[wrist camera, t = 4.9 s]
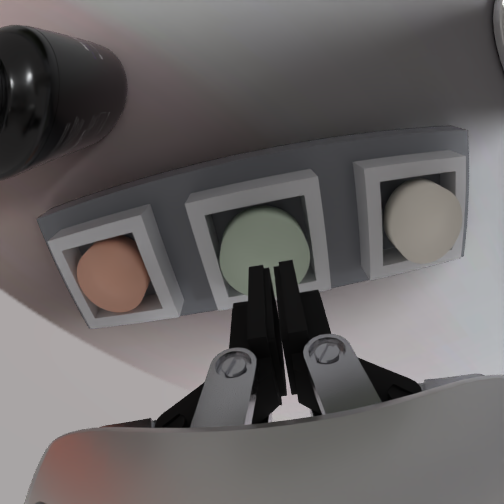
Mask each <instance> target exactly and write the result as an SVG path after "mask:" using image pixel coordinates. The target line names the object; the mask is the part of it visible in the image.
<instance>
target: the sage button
mask: <svg viewBox="0 0 504 504" xmlns="http://www.w3.org/2000/svg"><path fill="white" fill-rule="evenodd" d="M287 260H293V264H294V269H295V273H296V278H297V283H298V284H299V283H300V282H301V281H302V279H303V278H304V276H305V275H306V273H307V270H308V268H309V263H310V251H309V246H308V244H307V241H306V239H305V236H304V234H303V232H302V229H301V227H300V225H299V223H298V222H297V221H296V219H295V218H294V217H293V216H292V215H290V214H289V213H288V212H286V211H284V210H282V209H280V208H277V207H273V206H255V207H251V208H248V209H246V210H244V211H242V212H240V213H239V214H237V215H236V216H235V217H234V218H233V219H232V220H231V221H230V222H229V223H228V225H227V227H226V228H225V231H224V233H223V237H222V244H221V250H220V267H221V271H222V273H223V276H224V277H225V279H226V280H227V282H228V283H229V284H230V285H231V286H232V287H233V288H234V289H235V290H237V291H239V292H240V293H242V294H244V295H247V296H248V274H249V267H251V266H257V265H263V266H264V268H268V267H269V269H270V274H271V279H272V285H273V290H274V295H275V297H277V295H276V285H275V276H274V266H279V262H281V261H287Z"/></svg>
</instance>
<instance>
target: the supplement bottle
mask: <svg viewBox="0 0 504 504" xmlns="http://www.w3.org/2000/svg"><path fill="white" fill-rule="evenodd" d="M126 97H127V79H126V74H125V71H124V68H123V66H122V64H121V62H120V60H119V59H118V58H117V56H116V55H115V54H114V53H113V52H111V51H110V50H109V49H107V48H105V47H103V46H101V45H98V44H96V43H93V42H89V41H86V40H82V39H79V38H75V37H72V36H68V35H64V34H60V33H56V32H52V31H48V30H43V29H39V28H34V27H30V26H22V25H9V26H5V27H1V28H0V181H1V180H5V179H8V178H11V177H14V176H16V175H18V174H20V173H23V172H25V171H27V170H29V169H32V168H34V167H37V166H39V165H41V164H44V163H46V162H49V161H51V160H54V159H56V158H59V157H61V156H64V155H67V154H69V153H72V152H75V151H77V150H80V149H83V148H85V147H88V146H90V145H92V144H94V143H96V142H98V141H100V140H101V139H102V138H104V137H105V136H106V135H107V134H108V133H109V132H110V131H111V130H112V129H113V127H114V126H115V125H116V123H117V122H118V120H119V118H120V116H121V114H122V112H123V109H124V106H125V102H126Z"/></svg>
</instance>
